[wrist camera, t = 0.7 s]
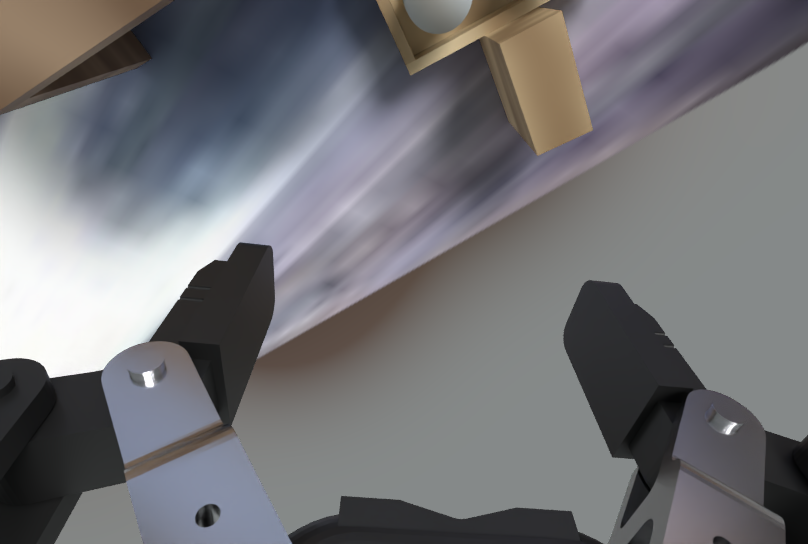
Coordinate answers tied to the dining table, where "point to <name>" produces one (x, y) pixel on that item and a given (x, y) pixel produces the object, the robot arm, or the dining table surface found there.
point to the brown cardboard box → (66, 45)
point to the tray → (502, 58)
